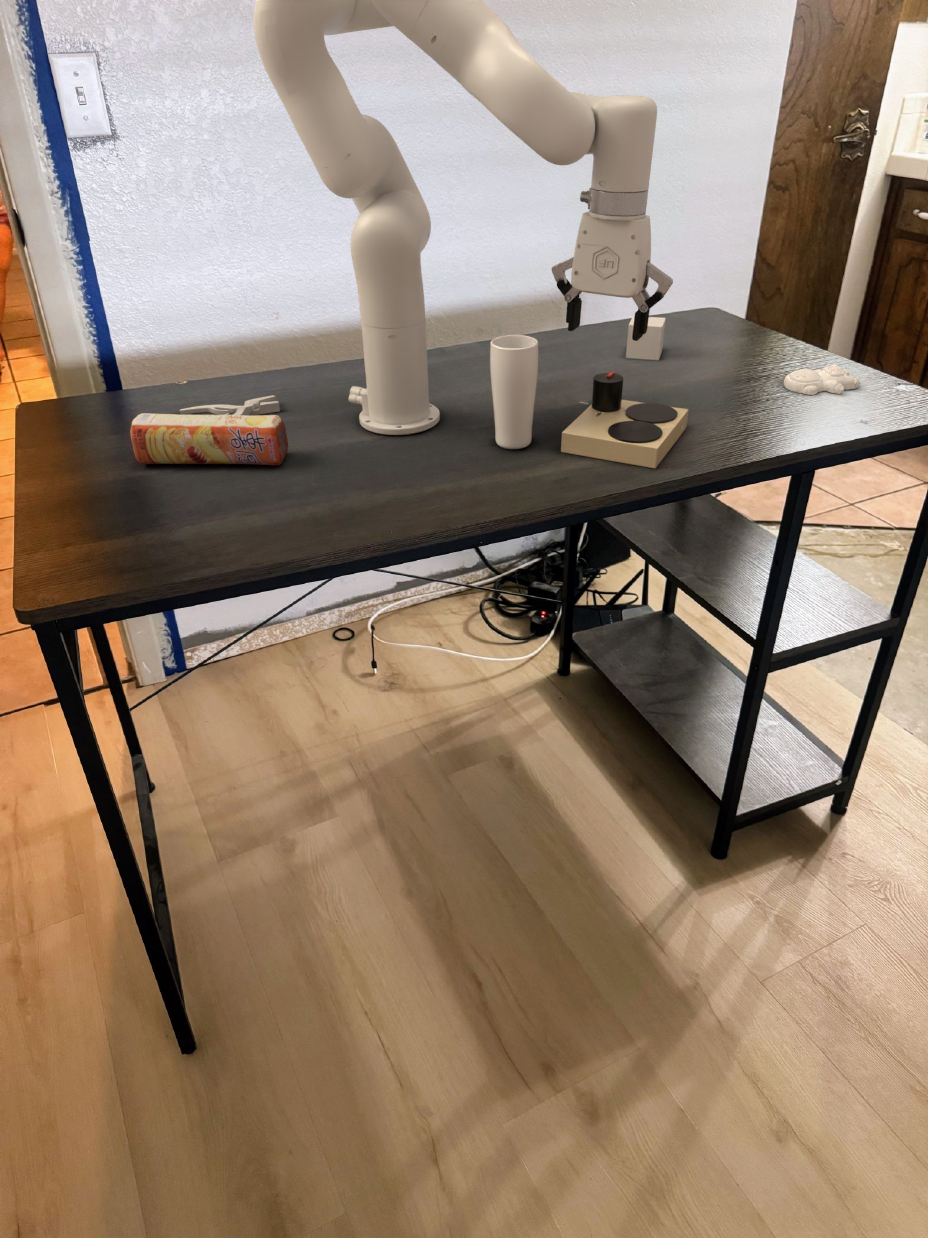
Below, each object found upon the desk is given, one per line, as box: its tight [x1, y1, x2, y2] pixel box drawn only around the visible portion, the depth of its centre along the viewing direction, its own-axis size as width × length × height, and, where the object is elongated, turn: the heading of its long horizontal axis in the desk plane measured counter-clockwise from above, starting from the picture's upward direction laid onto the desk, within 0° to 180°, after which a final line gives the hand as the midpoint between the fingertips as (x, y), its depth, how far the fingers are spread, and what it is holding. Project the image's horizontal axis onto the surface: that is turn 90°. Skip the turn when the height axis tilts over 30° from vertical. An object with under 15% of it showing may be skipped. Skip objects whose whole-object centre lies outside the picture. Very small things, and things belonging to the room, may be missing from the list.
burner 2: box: [608, 421, 663, 443], centre depth 124 cm, size 8×8×1 cm
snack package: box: [129, 412, 289, 466], centre depth 125 cm, size 21×7×7 cm, turn 87°
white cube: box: [625, 315, 667, 361], centre depth 161 cm, size 6×6×6 cm
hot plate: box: [560, 399, 689, 469], centre depth 129 cm, size 16×16×3 cm
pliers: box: [179, 395, 281, 416], centre depth 141 cm, size 10×2×15 cm
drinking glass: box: [489, 334, 540, 450], centre depth 125 cm, size 7×7×15 cm
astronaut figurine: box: [783, 363, 861, 396], centre depth 146 cm, size 9×12×3 cm
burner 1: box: [625, 402, 678, 424], centre depth 130 cm, size 8×8×1 cm
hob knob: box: [591, 370, 624, 412], centre depth 131 cm, size 4×4×5 cm
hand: (605, 333), depth 126 cm, fingers open, 9 cm apart
